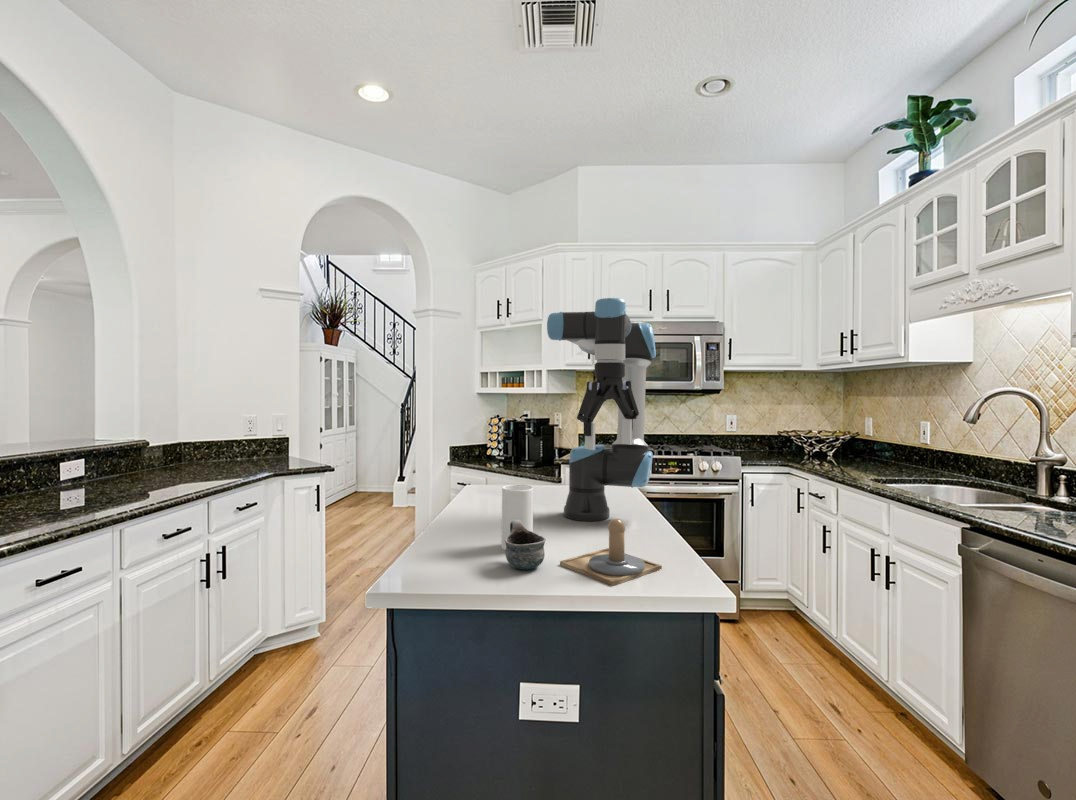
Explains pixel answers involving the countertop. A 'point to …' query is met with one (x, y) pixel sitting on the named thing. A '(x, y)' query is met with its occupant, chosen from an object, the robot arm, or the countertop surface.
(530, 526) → the cup
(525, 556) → the mug
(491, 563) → the countertop surface
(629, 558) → the lid
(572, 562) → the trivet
